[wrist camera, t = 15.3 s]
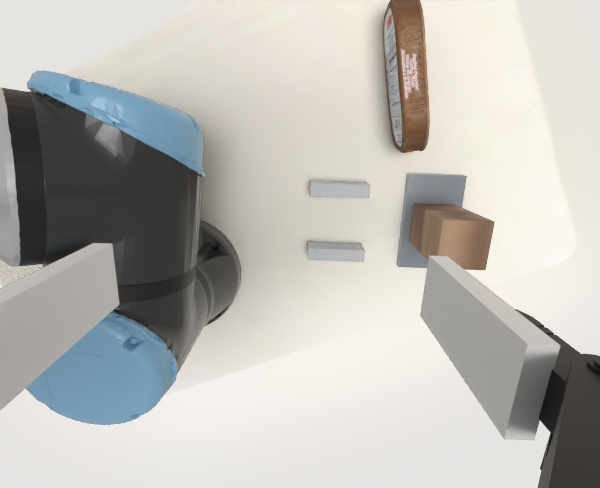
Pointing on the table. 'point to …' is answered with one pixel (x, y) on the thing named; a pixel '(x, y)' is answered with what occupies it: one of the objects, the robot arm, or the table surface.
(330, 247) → the cradle
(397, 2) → the tin
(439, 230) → the walnut block
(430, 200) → the slate plate
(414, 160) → the table surface
